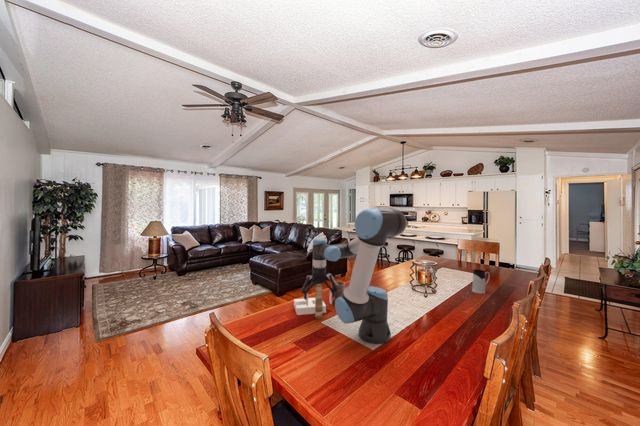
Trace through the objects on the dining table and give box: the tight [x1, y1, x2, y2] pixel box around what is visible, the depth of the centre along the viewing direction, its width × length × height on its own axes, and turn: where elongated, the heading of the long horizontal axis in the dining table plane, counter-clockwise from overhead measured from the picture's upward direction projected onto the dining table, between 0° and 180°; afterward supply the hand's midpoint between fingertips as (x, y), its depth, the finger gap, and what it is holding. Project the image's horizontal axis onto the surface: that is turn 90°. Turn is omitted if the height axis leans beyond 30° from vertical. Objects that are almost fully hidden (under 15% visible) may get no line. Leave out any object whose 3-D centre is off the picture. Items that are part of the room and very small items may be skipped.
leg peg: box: [314, 283, 324, 320], centre depth 147 cm, size 4×4×18 cm
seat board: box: [293, 297, 327, 316], centre depth 159 cm, size 14×17×4 cm
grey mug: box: [471, 269, 491, 294], centre depth 193 cm, size 9×14×15 cm, turn 107°
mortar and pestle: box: [326, 272, 346, 306], centre depth 166 cm, size 12×9×20 cm
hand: (318, 304), depth 147 cm, fingers open, 13 cm apart
